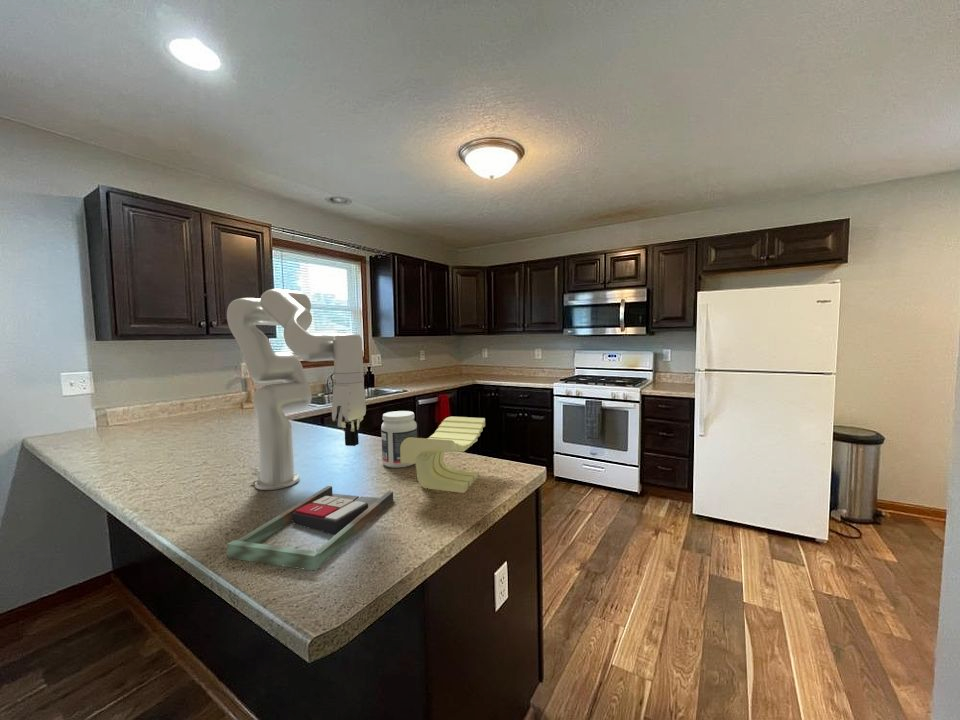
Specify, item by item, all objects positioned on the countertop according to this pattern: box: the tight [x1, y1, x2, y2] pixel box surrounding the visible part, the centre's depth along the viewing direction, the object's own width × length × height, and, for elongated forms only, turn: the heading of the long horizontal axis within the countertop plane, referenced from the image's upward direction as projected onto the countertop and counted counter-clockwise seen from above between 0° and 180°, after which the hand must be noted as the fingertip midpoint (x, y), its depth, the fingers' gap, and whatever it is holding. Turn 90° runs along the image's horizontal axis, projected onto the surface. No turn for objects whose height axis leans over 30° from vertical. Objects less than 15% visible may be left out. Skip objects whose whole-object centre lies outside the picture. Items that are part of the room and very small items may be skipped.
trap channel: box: [226, 485, 394, 571], centre depth 95 cm, size 21×34×3 cm, turn 166°
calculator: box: [292, 496, 368, 536], centre depth 98 cm, size 11×4×15 cm
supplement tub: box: [380, 410, 418, 469], centre depth 141 cm, size 13×13×18 cm
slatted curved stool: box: [400, 416, 486, 494], centre depth 122 cm, size 30×16×18 cm, turn 162°
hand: (351, 444), depth 107 cm, fingers closed
